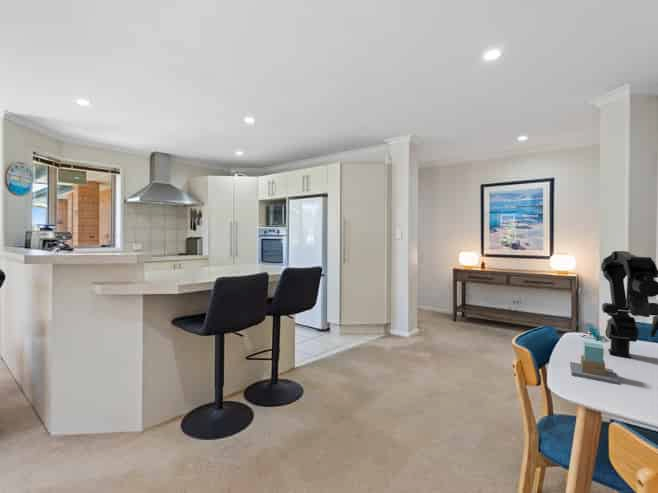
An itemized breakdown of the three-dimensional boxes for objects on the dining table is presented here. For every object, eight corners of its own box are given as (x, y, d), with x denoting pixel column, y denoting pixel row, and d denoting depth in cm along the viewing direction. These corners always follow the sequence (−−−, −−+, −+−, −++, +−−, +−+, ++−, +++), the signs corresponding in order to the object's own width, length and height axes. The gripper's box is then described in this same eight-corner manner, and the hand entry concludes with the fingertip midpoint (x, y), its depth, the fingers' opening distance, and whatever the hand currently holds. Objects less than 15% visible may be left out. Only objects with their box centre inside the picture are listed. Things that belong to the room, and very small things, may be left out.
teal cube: (583, 355, 120) (583, 341, 120) (601, 358, 118) (601, 344, 117) (584, 360, 116) (585, 345, 116) (603, 363, 114) (603, 348, 113)
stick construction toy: (600, 337, 149) (589, 321, 153) (583, 343, 153) (573, 327, 157) (606, 339, 157) (596, 324, 161) (590, 345, 161) (580, 329, 165)
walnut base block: (580, 365, 121) (581, 354, 121) (602, 369, 118) (602, 358, 118) (582, 371, 116) (582, 360, 116) (604, 376, 113) (605, 364, 113)
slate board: (570, 364, 125) (570, 361, 125) (612, 372, 119) (612, 369, 119) (571, 375, 116) (571, 372, 116) (617, 384, 109) (617, 381, 109)
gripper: (606, 292, 120) (604, 336, 120) (681, 298, 109) (678, 346, 110) (602, 287, 129) (600, 328, 130) (670, 293, 119) (668, 337, 120)
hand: (635, 334), depth 122 cm, fingers open, 9 cm apart
